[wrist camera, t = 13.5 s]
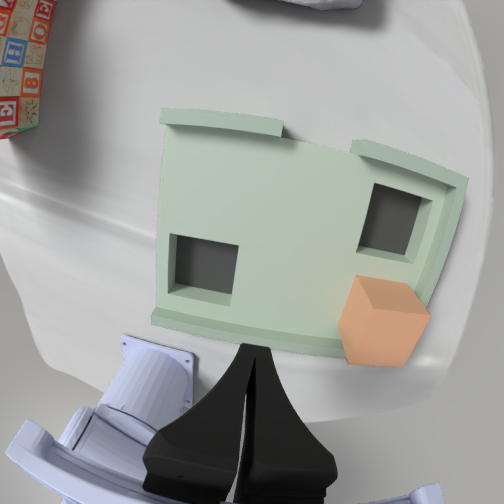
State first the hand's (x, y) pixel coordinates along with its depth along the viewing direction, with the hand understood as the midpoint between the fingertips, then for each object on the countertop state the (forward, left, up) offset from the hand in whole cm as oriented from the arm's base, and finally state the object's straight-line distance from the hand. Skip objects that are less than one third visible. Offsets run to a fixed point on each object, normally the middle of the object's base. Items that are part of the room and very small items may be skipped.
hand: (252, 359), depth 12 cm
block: (0, -9, -8) cm, 12 cm away
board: (+3, -2, -10) cm, 11 cm away
